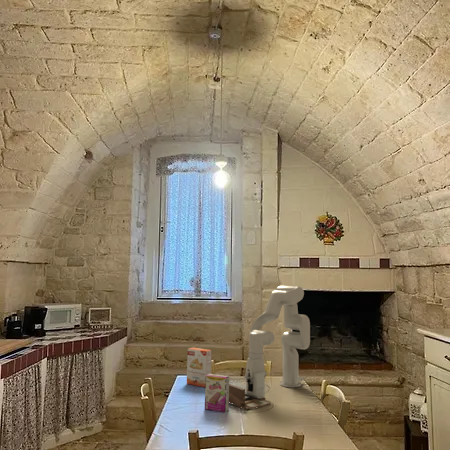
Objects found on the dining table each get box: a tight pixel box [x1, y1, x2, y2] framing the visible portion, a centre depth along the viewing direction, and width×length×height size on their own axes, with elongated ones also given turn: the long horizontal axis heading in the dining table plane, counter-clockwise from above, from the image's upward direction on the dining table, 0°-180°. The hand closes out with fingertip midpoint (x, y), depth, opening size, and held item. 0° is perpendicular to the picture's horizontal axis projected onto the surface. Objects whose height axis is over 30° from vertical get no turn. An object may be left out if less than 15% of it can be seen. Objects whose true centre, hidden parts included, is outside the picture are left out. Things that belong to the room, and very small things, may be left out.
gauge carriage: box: [245, 391, 262, 401], centre depth 225 cm, size 8×16×2 cm, turn 38°
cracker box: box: [186, 347, 212, 388], centre depth 259 cm, size 14×6×21 cm, turn 58°
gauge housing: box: [229, 383, 272, 410], centre depth 226 cm, size 16×18×9 cm
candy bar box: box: [204, 373, 230, 413], centre depth 214 cm, size 11×5×16 cm, turn 71°
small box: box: [245, 372, 266, 398], centre depth 232 cm, size 8×6×13 cm
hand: (255, 389), depth 232 cm, fingers closed on small box, 6 cm apart
